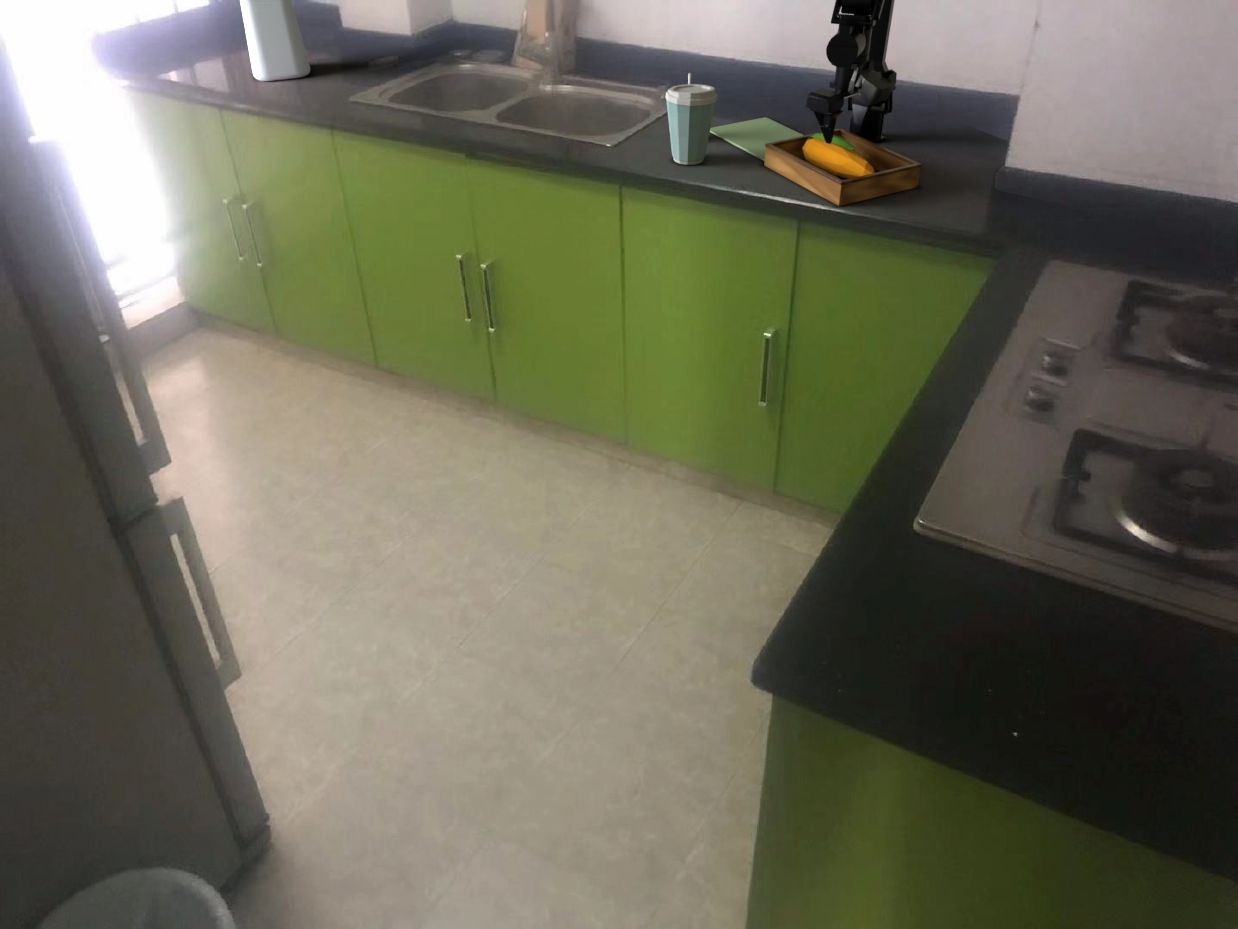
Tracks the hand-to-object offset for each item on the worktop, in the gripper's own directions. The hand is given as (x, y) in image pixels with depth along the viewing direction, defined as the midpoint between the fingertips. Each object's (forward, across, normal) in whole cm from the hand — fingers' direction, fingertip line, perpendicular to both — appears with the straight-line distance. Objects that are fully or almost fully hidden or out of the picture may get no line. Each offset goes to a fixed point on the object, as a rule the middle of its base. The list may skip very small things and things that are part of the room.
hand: (843, 137), depth 186 cm
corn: (+8, 0, 0) cm, 8 cm away
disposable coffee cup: (+8, -14, +28) cm, 32 cm away
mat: (+8, +7, +25) cm, 27 cm away
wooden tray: (+8, 0, 0) cm, 8 cm away
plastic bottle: (+8, -44, +156) cm, 162 cm away
